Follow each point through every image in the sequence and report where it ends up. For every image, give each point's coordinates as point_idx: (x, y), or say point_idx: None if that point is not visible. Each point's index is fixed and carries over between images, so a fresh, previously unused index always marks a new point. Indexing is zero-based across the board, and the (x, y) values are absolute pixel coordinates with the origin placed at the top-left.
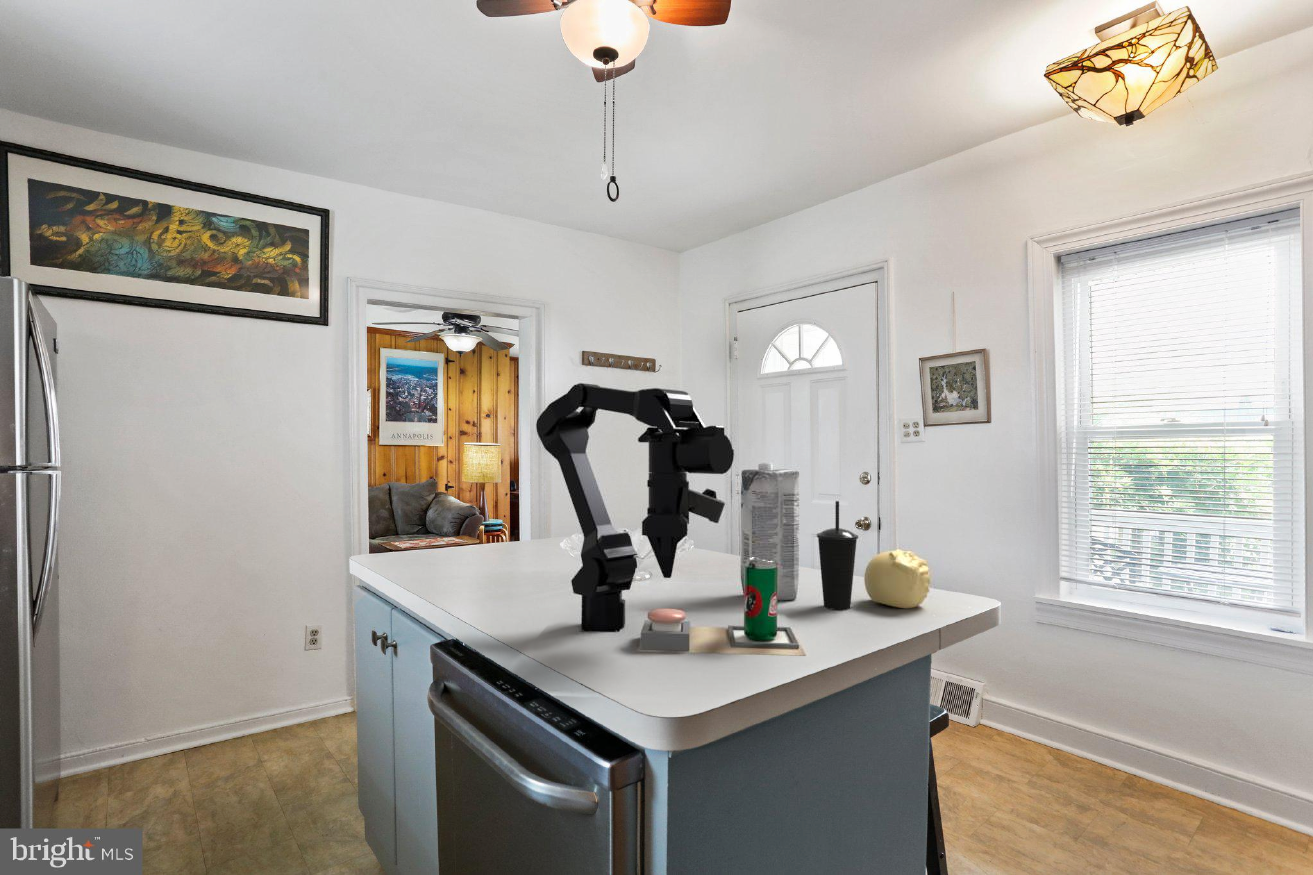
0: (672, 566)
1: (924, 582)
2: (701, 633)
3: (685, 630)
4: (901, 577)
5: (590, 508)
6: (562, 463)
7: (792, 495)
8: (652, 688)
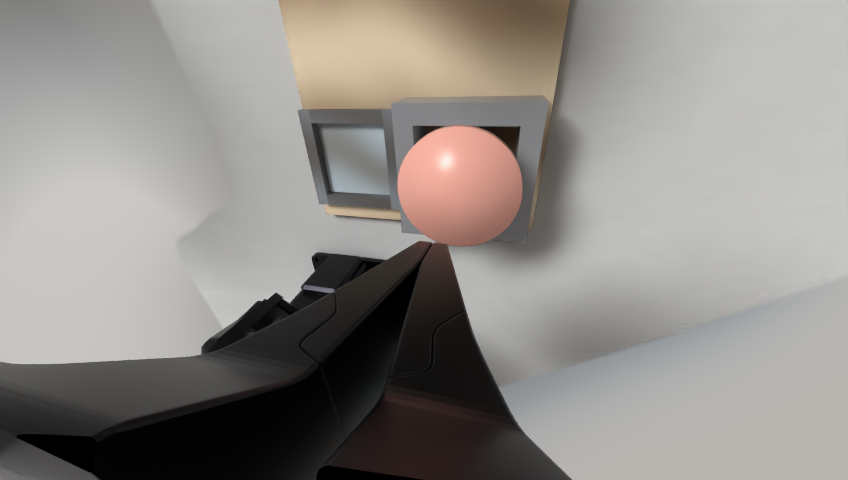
0: (455, 274)
1: None
2: (358, 61)
3: (505, 116)
4: None
5: None
6: None
7: None
8: (826, 189)
